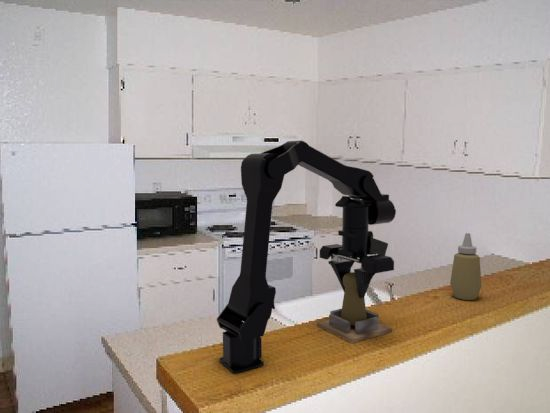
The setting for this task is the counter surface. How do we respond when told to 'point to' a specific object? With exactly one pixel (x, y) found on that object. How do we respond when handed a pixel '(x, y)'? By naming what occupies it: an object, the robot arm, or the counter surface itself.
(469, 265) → the squeeze bottle
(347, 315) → the cork
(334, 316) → the clip holder
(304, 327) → the counter surface
